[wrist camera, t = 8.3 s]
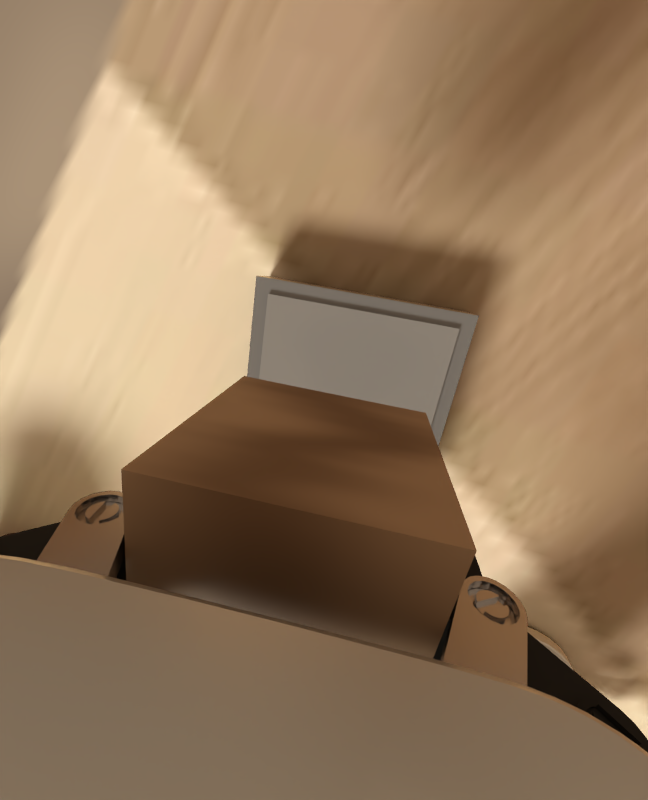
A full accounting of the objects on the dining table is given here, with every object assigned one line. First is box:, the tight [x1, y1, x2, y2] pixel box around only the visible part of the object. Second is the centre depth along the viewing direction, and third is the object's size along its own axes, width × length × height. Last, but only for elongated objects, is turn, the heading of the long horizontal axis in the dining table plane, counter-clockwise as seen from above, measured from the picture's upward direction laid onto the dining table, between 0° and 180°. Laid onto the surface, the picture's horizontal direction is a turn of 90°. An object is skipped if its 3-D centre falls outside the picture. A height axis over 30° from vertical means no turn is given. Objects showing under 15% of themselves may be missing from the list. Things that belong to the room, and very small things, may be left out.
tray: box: [247, 276, 479, 446], centre depth 22 cm, size 12×12×3 cm
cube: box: [121, 376, 476, 659], centre depth 10 cm, size 6×6×6 cm
